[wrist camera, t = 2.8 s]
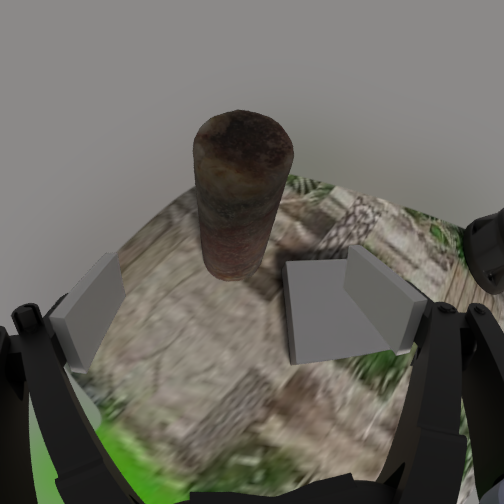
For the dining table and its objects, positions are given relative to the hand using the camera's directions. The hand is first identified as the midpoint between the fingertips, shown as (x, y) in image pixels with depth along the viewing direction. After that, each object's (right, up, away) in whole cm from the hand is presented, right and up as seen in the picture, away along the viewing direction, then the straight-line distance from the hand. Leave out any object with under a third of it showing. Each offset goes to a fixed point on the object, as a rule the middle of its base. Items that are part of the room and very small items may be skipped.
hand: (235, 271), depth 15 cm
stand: (+11, -7, +19) cm, 23 cm away
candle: (-1, 0, +21) cm, 21 cm away
